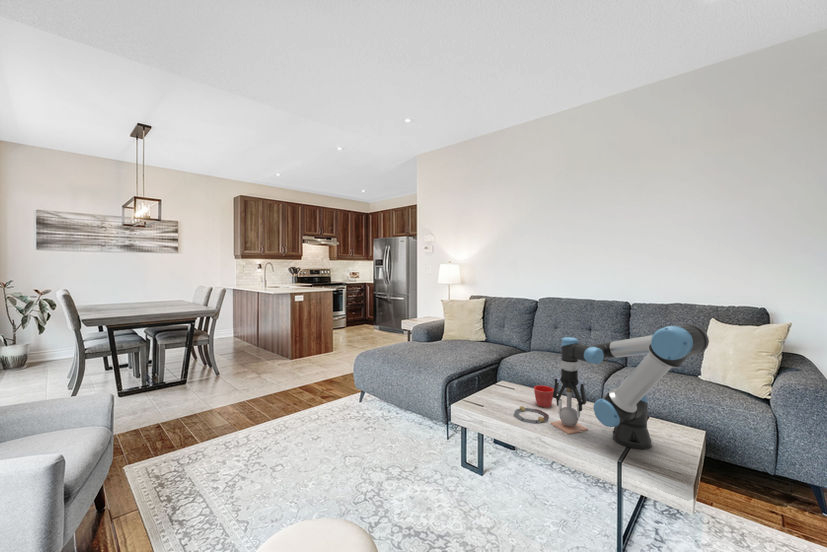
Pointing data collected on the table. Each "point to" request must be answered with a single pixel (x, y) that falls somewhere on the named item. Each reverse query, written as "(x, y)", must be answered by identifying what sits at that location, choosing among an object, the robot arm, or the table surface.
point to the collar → (540, 419)
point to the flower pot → (543, 396)
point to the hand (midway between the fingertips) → (569, 414)
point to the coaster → (569, 427)
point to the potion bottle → (568, 411)
